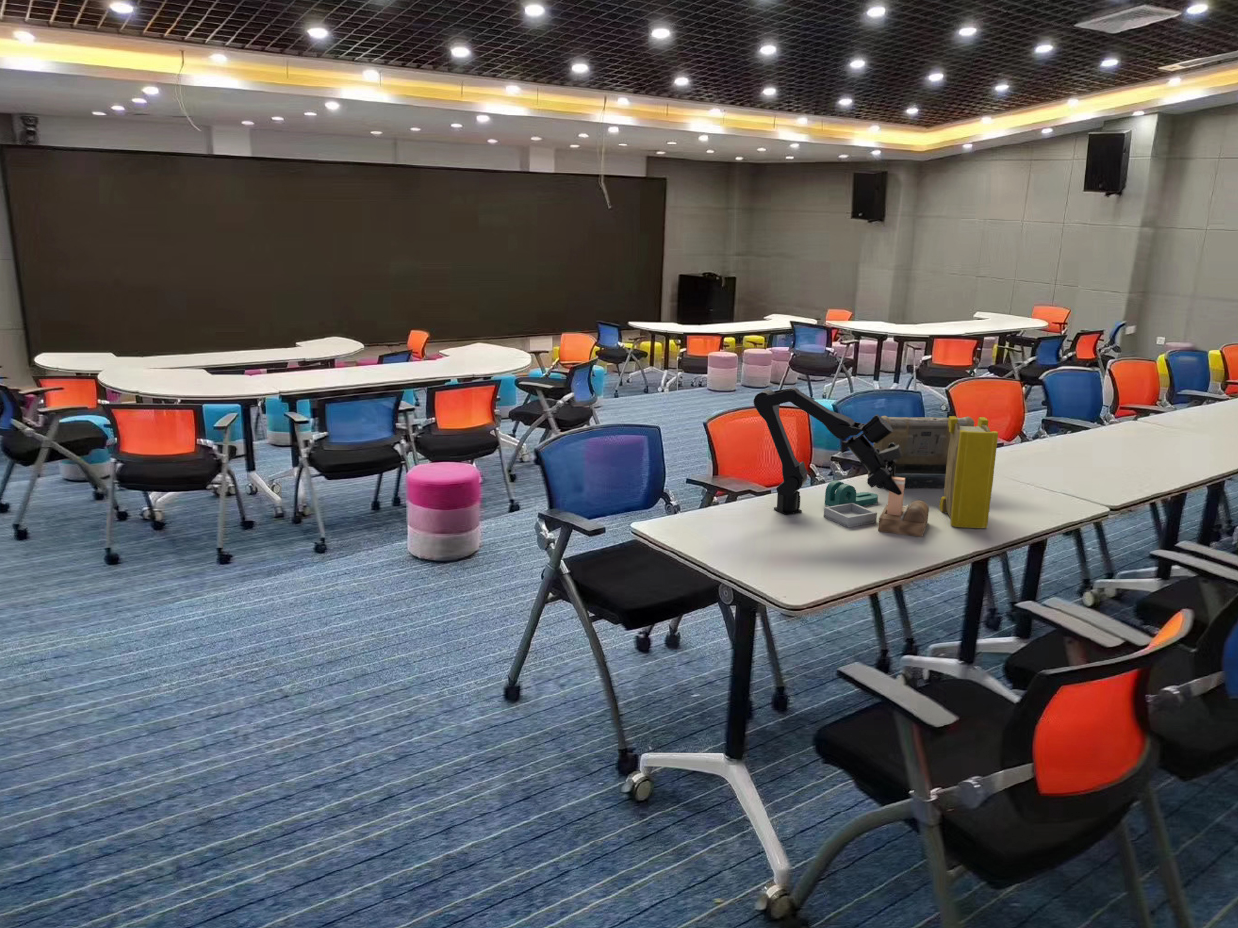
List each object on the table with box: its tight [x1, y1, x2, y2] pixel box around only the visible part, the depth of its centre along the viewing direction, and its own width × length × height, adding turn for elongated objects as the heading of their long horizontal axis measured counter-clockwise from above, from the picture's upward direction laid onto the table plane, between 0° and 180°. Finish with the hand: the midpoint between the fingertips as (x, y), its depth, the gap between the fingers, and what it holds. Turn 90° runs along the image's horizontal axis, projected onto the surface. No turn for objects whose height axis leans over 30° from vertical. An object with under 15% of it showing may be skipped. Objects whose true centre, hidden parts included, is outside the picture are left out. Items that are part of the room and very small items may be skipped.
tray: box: [823, 503, 878, 528], centre depth 257 cm, size 11×11×3 cm
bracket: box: [824, 479, 879, 507], centre depth 272 cm, size 18×7×8 cm, turn 117°
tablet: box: [867, 415, 975, 490], centre depth 291 cm, size 33×14×25 cm, turn 94°
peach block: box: [887, 477, 905, 516], centre depth 250 cm, size 4×2×11 cm, turn 65°
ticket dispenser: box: [877, 500, 930, 538], centre depth 250 cm, size 12×14×7 cm
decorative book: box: [939, 415, 999, 529], centre depth 255 cm, size 20×11×30 cm, turn 169°
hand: (901, 493), depth 249 cm, fingers closed on peach block, 2 cm apart
